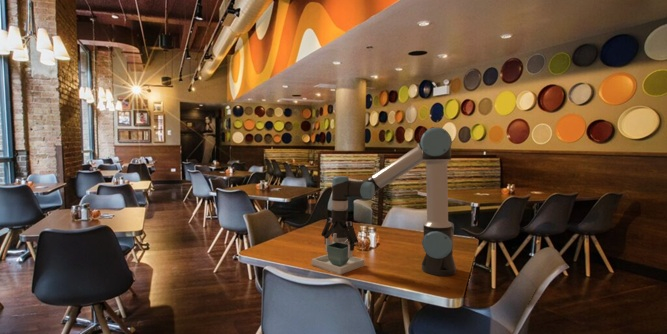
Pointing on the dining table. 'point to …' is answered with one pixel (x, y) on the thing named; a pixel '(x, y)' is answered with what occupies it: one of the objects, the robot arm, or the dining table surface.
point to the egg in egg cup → (339, 235)
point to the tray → (325, 264)
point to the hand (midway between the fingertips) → (338, 254)
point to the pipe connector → (335, 239)
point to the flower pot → (338, 253)
